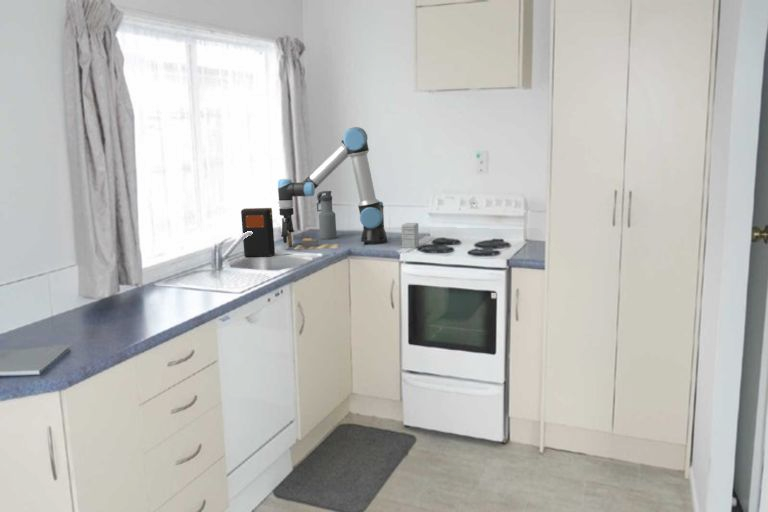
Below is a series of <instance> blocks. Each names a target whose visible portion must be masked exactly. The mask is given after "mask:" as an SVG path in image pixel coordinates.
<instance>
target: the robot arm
mask: <svg viewBox="0 0 768 512" xmlns="http://www.w3.org/2000/svg"><path fill="white" fill-rule="evenodd" d="M368 145H369V144H368V134H367V132H366V131H365V130H364V128H361V127H360V126H359V127H358V126H354V127H353V126H352V127H350V128H348V129H346V131H344V135H343V139H342V140H341V141H340V145H339V146H338V147H337V148H336V149H335V150H333V151H332V153H331V154H329V156H327V158H326V159H324V160H323V162H322V163H321V164H319V165H318V167H316V168H315V170H313V171H312V172H311V173H310V174H309V175H308V176H307V177H306V178H305V179H304V180H303V181H301V182H293V180H292V179H291V178H281V179H278V180H277V191H278V201H277V203H278V204H279V205H278V207H279V215H280V216H281V217H282V216H283V217H282V218H281V235H280V236H281V237H282V245H283V246H282V247H283V250H284V249H285V250H286V249H288V248H289V245H288V232H291V237H292V245H294V233H295V230H294V224H293V219H292V216H293V215H294V208H293V207H294V198H293V197H308V198H309V197H313V196H314V195H315V191H316V189H317V188H318V187H319V186H320V185H321V183H323V182H324V181H325V180H326V179H327V178H328V177H329V176H330V175H331V174H332V173H333V172H334V171H335V170H336V169H337V168H338V167H340V165H341V164H342V163H344V161H346V160H347V159H348V157H350V160H351V164H352V169H353V173H354V177H355V178H354V179H355V183H356V188H357V193H358V198H359V202H358V204H357V206H358V211H359V221H360V223H361V224H362V229H363V230H362V233H361V238H360V241H361V242H362V243H363V244H364V243H368V244H367V245H382V244H386V243H388V242H389V240H388V235H387V233H386V230H385V220H384V219H385V217H384V207H385V206H384V203H383V202H382V201H380V200H379V199H377V198H376V197H377V196H376V193H375V188H374V183H373V182H374V181H373V179H372V173H371V169H370V168H371V167H370V163H369V158H368V153H369V151H370V149H369V146H368ZM289 249H290V248H289ZM289 249H288V250H289Z"/></svg>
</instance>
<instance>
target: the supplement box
mask: <svg viewBox="0 0 768 512" xmlns="http://www.w3.org/2000/svg"><path fill="white" fill-rule="evenodd" d="M419 239H420V237H419V222H405V223H403V224H401V243H402V248H401V249H416V248H418V247H419V246H420V240H419Z"/></svg>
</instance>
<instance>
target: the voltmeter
mask: <svg viewBox="0 0 768 512" xmlns="http://www.w3.org/2000/svg"><path fill="white" fill-rule="evenodd" d="M240 215H241V227H242V228H241V229H242V230H241V231H242V234H243V233H245V232H247V231H252V232H253V234H252V235H251V236H248V237H247V238H245V239H244V240H243V239H242V242H243V254H244V257H245V258H246V257H249V258H251V257H252V258H255V257H272V256H273V255H275V254H276V251H275V236H274V225H273V224H274V222H273V221H274V220H273V209H272V207H256V208H255V207H250V208H249V207H248V208H242V209H241V210H240Z"/></svg>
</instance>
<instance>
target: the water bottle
mask: <svg viewBox="0 0 768 512" xmlns="http://www.w3.org/2000/svg"><path fill="white" fill-rule="evenodd" d="M323 194H324V195H323ZM316 200H317V203H316V211H317V212H320V213H319V214H318V224H319V225H318V227H319V238H320V239H321V240H325V239H328V240H333V239H332V238H335V239H336V238H337V223H336V222H337V219H336V213H335V212H334V211H333V196H332V190H322V191H319V192H318V193H317V195H316ZM319 204H320V209H319Z"/></svg>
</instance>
